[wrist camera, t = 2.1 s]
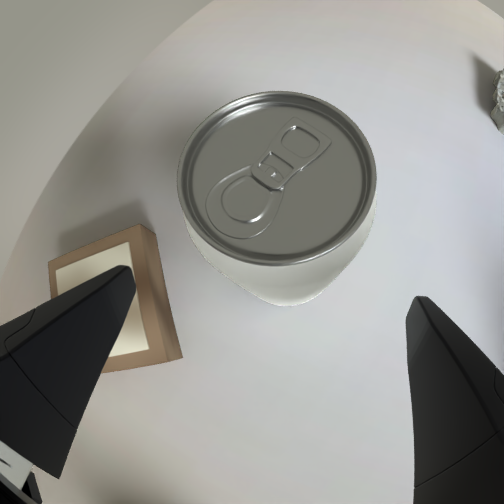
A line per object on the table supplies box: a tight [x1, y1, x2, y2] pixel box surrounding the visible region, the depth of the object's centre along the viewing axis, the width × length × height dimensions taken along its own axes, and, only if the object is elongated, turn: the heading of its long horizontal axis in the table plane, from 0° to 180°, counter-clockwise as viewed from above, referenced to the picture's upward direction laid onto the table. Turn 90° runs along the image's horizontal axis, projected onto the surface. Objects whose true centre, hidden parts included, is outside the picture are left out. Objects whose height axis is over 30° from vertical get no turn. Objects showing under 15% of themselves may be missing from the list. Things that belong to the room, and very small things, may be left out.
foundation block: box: [48, 224, 183, 373], centre depth 19 cm, size 9×9×3 cm
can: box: [177, 91, 377, 306], centre depth 14 cm, size 6×6×12 cm
